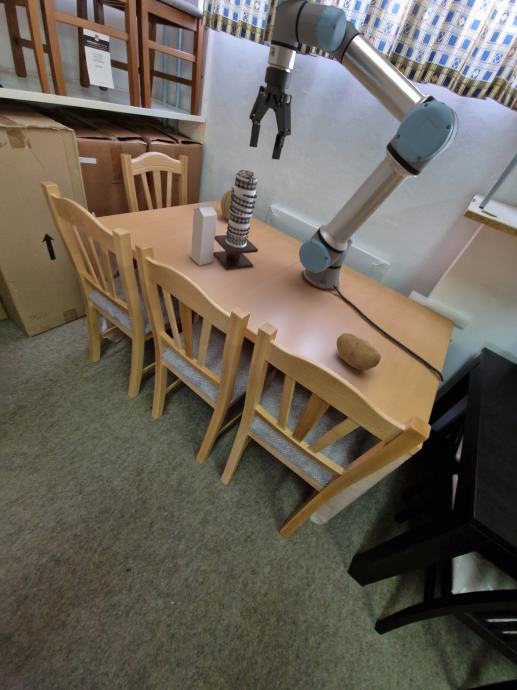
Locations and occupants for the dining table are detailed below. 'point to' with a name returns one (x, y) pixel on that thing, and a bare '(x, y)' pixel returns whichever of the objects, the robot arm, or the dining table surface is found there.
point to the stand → (234, 254)
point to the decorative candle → (241, 208)
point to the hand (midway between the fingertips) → (263, 152)
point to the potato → (357, 352)
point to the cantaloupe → (226, 204)
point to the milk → (203, 233)
